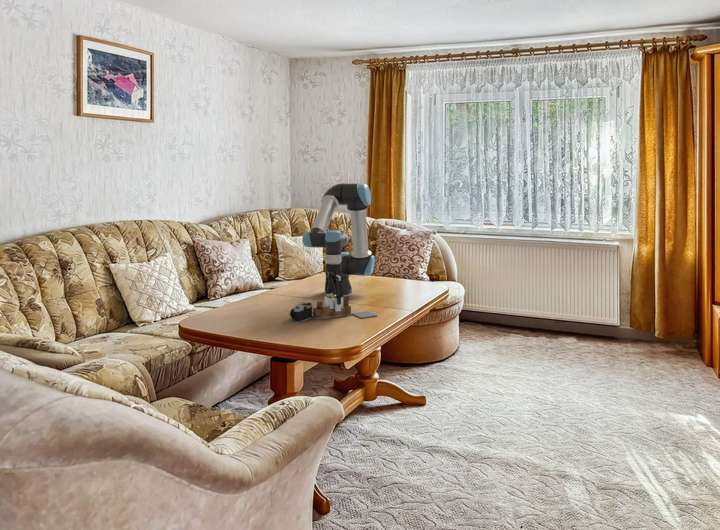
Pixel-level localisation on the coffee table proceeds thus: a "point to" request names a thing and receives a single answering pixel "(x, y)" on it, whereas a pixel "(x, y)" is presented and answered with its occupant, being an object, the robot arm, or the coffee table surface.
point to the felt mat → (364, 314)
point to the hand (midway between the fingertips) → (333, 308)
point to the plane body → (332, 310)
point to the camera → (301, 312)
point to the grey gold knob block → (331, 301)
